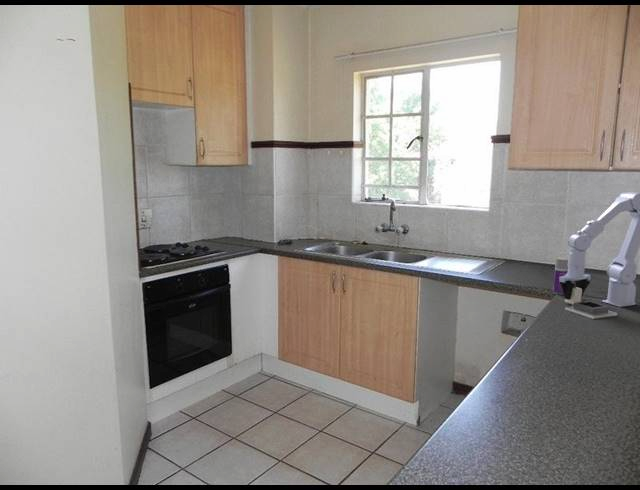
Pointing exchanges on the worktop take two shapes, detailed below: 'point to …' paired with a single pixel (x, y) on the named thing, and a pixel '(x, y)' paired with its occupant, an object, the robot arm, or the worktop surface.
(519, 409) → the worktop surface
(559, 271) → the container
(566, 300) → the plug
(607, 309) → the socket plate
